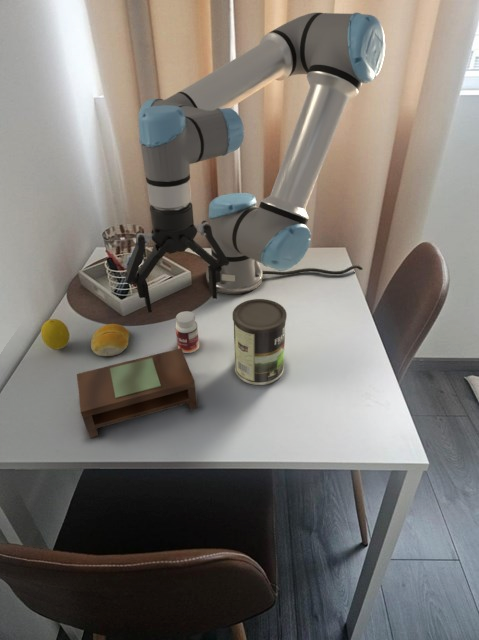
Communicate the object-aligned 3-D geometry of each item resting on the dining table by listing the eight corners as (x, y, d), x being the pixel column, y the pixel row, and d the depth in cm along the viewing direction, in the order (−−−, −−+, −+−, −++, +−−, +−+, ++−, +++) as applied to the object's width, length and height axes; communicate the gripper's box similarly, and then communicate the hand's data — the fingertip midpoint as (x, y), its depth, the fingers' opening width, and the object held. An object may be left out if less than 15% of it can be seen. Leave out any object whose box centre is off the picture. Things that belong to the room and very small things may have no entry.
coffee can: (288, 356, 96) (291, 302, 87) (277, 389, 88) (280, 334, 79) (242, 348, 98) (241, 295, 90) (227, 379, 90) (225, 325, 82)
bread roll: (131, 330, 104) (128, 316, 102) (127, 355, 97) (124, 341, 94) (95, 333, 103) (91, 319, 101) (89, 359, 96) (85, 345, 94)
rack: (184, 373, 92) (181, 347, 88) (197, 407, 84) (194, 380, 80) (85, 399, 87) (76, 372, 82) (89, 438, 79) (80, 411, 75)
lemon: (65, 358, 97) (55, 329, 92) (42, 355, 98) (31, 326, 93) (77, 342, 101) (68, 313, 96) (55, 339, 102) (45, 311, 97)
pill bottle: (173, 347, 99) (169, 317, 94) (189, 337, 101) (186, 307, 96) (187, 356, 96) (184, 326, 91) (203, 346, 99) (201, 315, 94)
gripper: (230, 186, 85) (232, 281, 97) (96, 205, 78) (118, 304, 91) (244, 200, 79) (244, 299, 92) (101, 222, 72) (123, 325, 85)
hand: (181, 302), depth 91 cm, fingers open, 13 cm apart
